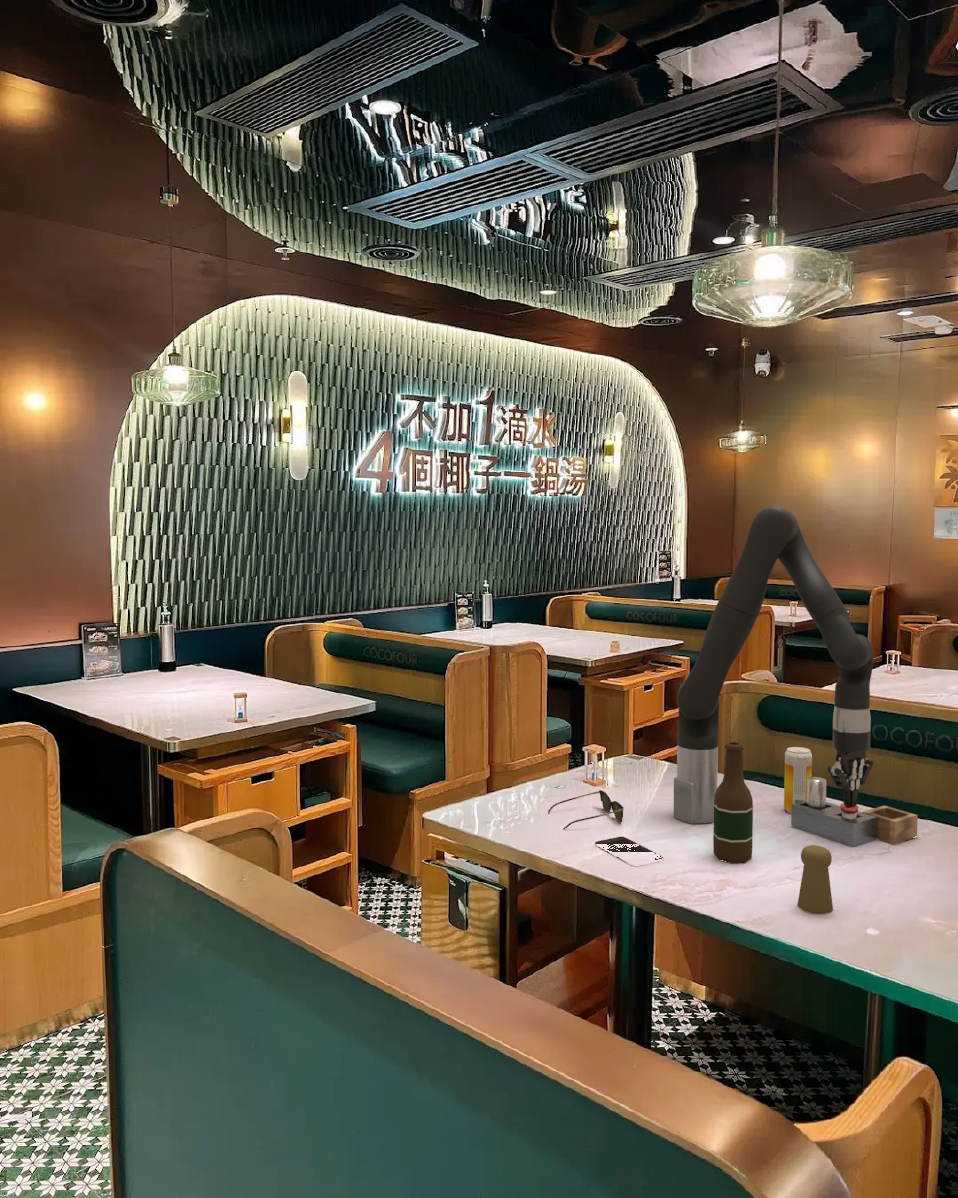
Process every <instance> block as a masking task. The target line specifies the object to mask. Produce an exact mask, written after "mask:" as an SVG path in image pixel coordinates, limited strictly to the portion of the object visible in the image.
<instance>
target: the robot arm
mask: <svg viewBox="0 0 958 1198" xmlns="http://www.w3.org/2000/svg"><path fill="white" fill-rule="evenodd" d="M746 537H747V538H746V540H745V543H744V546H743V550H742V553H741V555H740V557H739V559H738V561H737V564H736V566H735V567H734V570H733V571H732V574H731V575H730V577H729V579H728V581H727V583H726V584H725V587H724V588H723V590H722V593H721V595H720V597H719V598H718V599H719V600H718V601H717V604H716V606H715V608H714V610H713V613H712V615H711V618H710V620H709V623H708V625H707V629H706V632H705V635H704V638H703V640H702V645H701V649H700V652H699V654H698V656H697V659H696V661H695V663H694V665H693V667H692V668H691V670H690V672H689V674H688V676H687V677H686V679H684V681H683V682H682V683H681V684H680V686H679V688H678V691H677V695H676V704H677V707H678V720H677V721H678V723H677V725H678V726H677V735H676V736H677V737H676V741H677V743H676V745H677V747H676V751H677V752H676V753H677V754H676V776H675V777H674V778H673V818H675V819H677V820H680V821H684V822H685V823H688V824H690V825H694V824H709V823H714V796H715V793H716V790H717V788H718V782H719V781H718V775H719V773H718V770H719V769H718V767H719V764H718V762H719V761H718V759H719V733H720V732H719V731H720V729H719V727H720V722H719V721H720V720H719V719H720V697H721V696H720V695H721V693H722V690H723V686H724V684H725V682H726V678H727V676H728V673H729V672H730V669H731V666H732V665H733V663H734V662H735V660H736V658H737V656H738V655H739V653H740V652H741V650H742V648H743V647H744V645H745V644H746V642H747V640H748V637H749V636H750V634H751V632H752V630H753V628H754V626H755V624H756V621H757V619H758V617H759V615H760V613H761V610H762V606H763V603H764V601H765V600H764V599H765V596H766V591H767V587H768V582H769V579H770V575H771V573H772V570H773V568H774V567H775V564H776V562H777V561H778V560H779V561H780V563H781V564H782V565H783V567H784V569H785V570H786V571H787V573H788V575H789V577H790V579H791V582H792V583H793V585H794V587H795V589H796V592H797V594H798V597H800V600H801V602H802V604H803V605H804V607H805V609H806V611H807V612H808V614H809V615H810V617H811V619H812V621H813V622H814V624H815V625H816V627H817V629H818V630H819V632H820V634H821V636H822V637H821V638H822V640H823V641H824V644H825V646H826V649H827V651H828V654H829V655H830V657H831V658H832V660H833V662H835V664H836V665H838V666H839V675H838V676H839V677H838V679H837V681H836V683H835V686H834V687H835V688H834V708H833V713H832V714H833V716H832V747H833V748H834V749H835V751H836V755H835V758H834V759H835V763H834V765H833V766H831V765H830V766H828V768H827V772H828V773H829V775H830V777H831V779H832V781H833V782H834V784H835V785H836V787H837V788H842V789H843V797H842V798H843V799H842V800H843V801H842V803H844V805H846V806H849V807H853V806H856V805H857V806H858V804H857V803H858V802H857V801H858V790H859V789H860V786H864V785H865V784H866V781H867V779H868V777H869V774H870V772H871V770H872V767H873V765H874V761H873V760H871V759H868V757H867V752H868V751H869V750H871V726H872V725H871V722H872V721H871V720H872V718H871V717H872V716H871V712H870V711H871V710H870V709H871V708H870V707H871V706H870V705H871V703H870V702H871V701H870V700H871V694H870V693H871V691H870V688H871V687H870V685H871V679H872V673H873V665H874V654H875V653H874V647H873V644H872V642H871V640H870V639H868V637H867V636H864V635H862V634H859V633H856V631H855V629H854V627H853V626H852V624H851V622H850V614H849V611H848V609H847V608H846V607H845V605H844V604H843V602H842V600H841V598H840V597H839V596H838V594H837V592H836V590H835V589H834V587H833V586H832V584H831V583H830V581H829V580H828V579H827V577H826V576H825V575H824V573H823V571H822V570H821V568H820V567H819V566H818V563H817V562H816V561H815V559H814V557H813V555H812V554H811V552H810V549H809V547H808V546H807V543H806V540H805V539H804V536H803V534H802V532H801V529H800V526H799V523H798V519H797V518H796V516H795V515H794V514H793V513H792V512H790V511H789V510H788V509H786V508H782V507H781V506H774V505H773V506H772V505H771V506H767V507H764V508H763V509H761V510H760V511H759V512H757V514H756V515H755V516H754V518H753V520H752V522H751V525H750V527H749V531H748V534H747V536H746Z"/></svg>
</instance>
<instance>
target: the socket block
mask: <svg viewBox="0 0 958 1198" xmlns="http://www.w3.org/2000/svg"><path fill="white" fill-rule="evenodd" d="M790 817H791V825H790V826H791V827H793V828H797V829H799V830H802V831H804V832H805V831H806V832H808V833H811V834H813V835H817V836H820V837H823V838H826V839H829V840H831V841H834V842H836V843H840V844H843V845H846V846H849V847H852V848H854V847H858V846H861V845H864V844H867V843H871V842H873V841H877V839H876V833H877V817H875V816H871V815H868V814H865V813H862V811H858V812H857V818H856V819H852V820H850V819H847V818H844V817H842V811H841V810H840V805H839V804H835V803H831V802H828V801H826V808H825V809H821V810H816V809H813V808H809V807H807V801H803V802H799V803H795V804H792V814H791V815H790Z"/></svg>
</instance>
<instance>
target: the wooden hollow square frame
mask: <svg viewBox="0 0 958 1198" xmlns="http://www.w3.org/2000/svg"><path fill="white" fill-rule="evenodd" d="M861 813H865V814H868V815H871V816H875V817H877V833H876V840H879V841H882V842H884V843H888V844H891V845H894V844H895V845H898V844H901V843H903V842H902V841H904V842H906V841H905V840H908V839H911V838H913V837H915V836H917V837H918V814H914V813H912V812H909V811H905V810H902V809H898V808H894V807H891V806H888V805H882V806H881V805H880V806H877V807H874V808H872V809H868V810H863V811H861ZM911 840H912V839H911ZM908 841H909V840H908Z"/></svg>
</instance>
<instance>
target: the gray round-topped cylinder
mask: <svg viewBox="0 0 958 1198" xmlns="http://www.w3.org/2000/svg"><path fill="white" fill-rule="evenodd" d="M826 800H827V779H826V778H823V777H820V776H819V777H818V776H812V777H809V778H807V807H809V808H813V809H816V810H821V809H825V808H826V802H827V801H826Z"/></svg>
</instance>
